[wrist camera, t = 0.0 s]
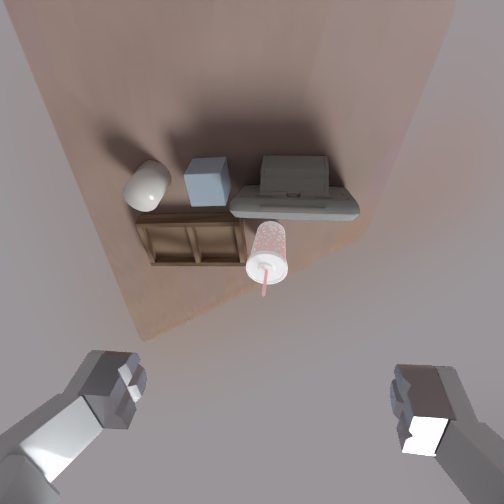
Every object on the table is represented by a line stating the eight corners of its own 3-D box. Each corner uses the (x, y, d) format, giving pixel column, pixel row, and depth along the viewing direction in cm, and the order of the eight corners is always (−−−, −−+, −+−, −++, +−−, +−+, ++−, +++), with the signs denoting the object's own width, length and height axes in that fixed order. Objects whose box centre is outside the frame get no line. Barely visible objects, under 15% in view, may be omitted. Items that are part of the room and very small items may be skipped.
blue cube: (192, 158, 49) (183, 174, 45) (226, 156, 48) (219, 173, 44) (199, 188, 52) (191, 206, 48) (231, 187, 51) (225, 205, 48)
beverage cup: (268, 210, 53) (260, 272, 43) (297, 231, 55) (296, 295, 45) (245, 233, 57) (232, 295, 46) (273, 252, 59) (266, 316, 48)
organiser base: (141, 214, 57) (135, 223, 54) (241, 212, 54) (238, 222, 52) (156, 255, 62) (151, 265, 60) (247, 255, 60) (245, 266, 58)
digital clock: (236, 194, 52) (224, 237, 44) (244, 138, 46) (232, 175, 38) (339, 215, 52) (345, 261, 44) (360, 161, 46) (372, 204, 38)
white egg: (134, 161, 50) (117, 180, 46) (166, 159, 49) (152, 179, 45) (144, 190, 53) (129, 211, 49) (174, 189, 53) (162, 211, 48)
